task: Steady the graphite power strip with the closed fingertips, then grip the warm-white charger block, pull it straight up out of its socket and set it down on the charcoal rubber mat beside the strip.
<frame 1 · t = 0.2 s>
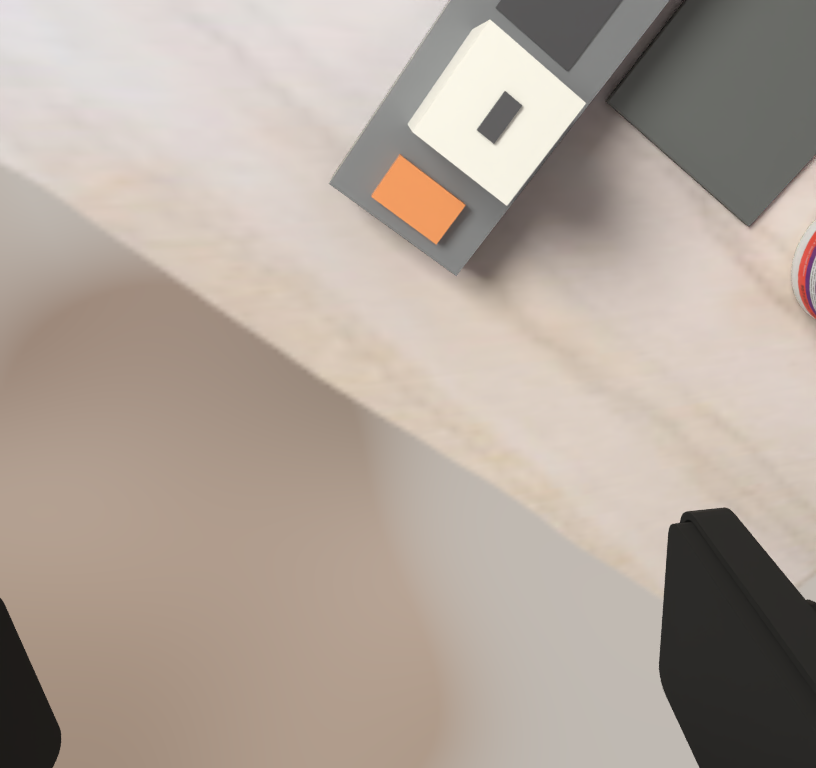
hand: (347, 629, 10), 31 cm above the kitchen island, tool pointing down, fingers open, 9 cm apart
power strip: (533, 22, 34), on the kitchen island
charger: (480, 112, 32), point 3 cm above the kitchen island, touching power strip
mat: (753, 76, 35), on the kitchen island
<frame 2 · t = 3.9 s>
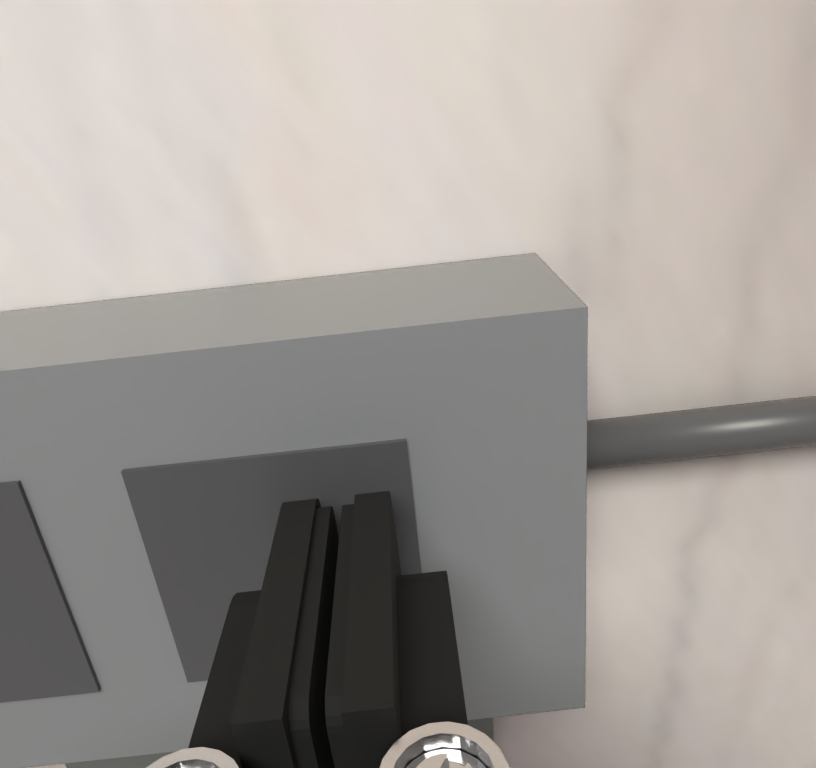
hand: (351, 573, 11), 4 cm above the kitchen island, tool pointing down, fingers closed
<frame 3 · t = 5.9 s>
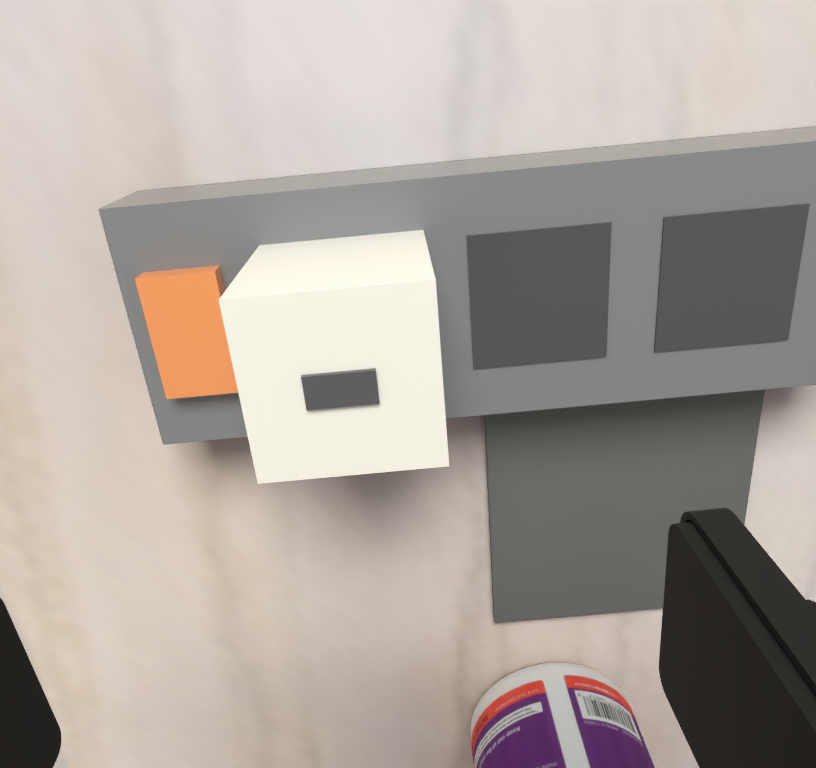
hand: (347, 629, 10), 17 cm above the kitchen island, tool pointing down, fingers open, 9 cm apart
power strip: (491, 272, 25), on the kitchen island
charger: (351, 315, 21), point 3 cm above the kitchen island, touching power strip
mat: (615, 508, 29), on the kitchen island
pill bottle: (546, 706, 34), on the kitchen island
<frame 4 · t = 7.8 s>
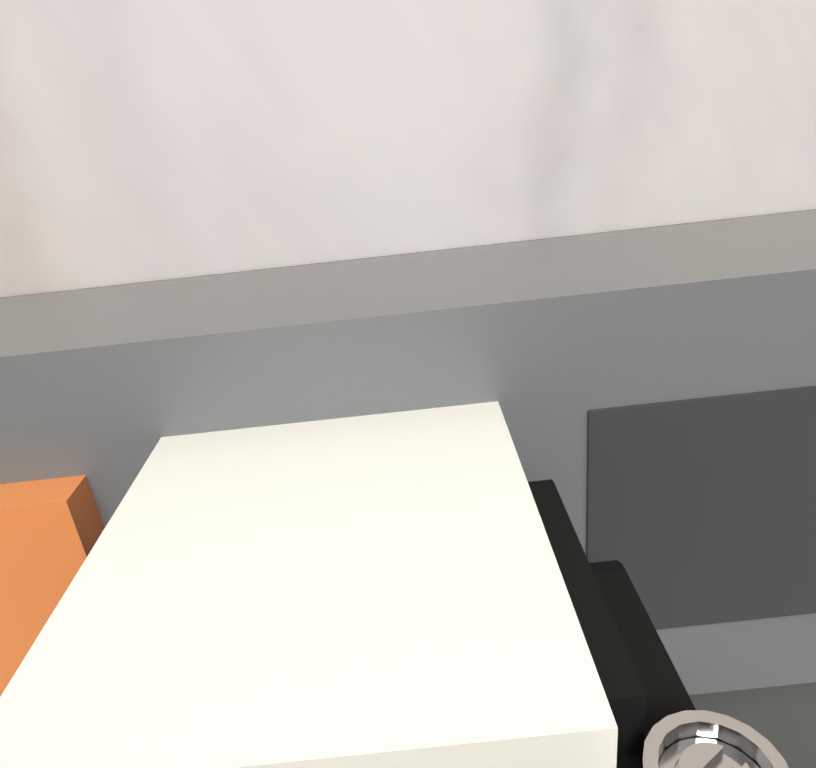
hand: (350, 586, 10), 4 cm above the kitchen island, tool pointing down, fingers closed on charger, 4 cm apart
power strip: (596, 423, 14), on the kitchen island
charger: (352, 555, 11), point 4 cm above the kitchen island, touching gripper, power strip
mat: (771, 756, 19), on the kitchen island
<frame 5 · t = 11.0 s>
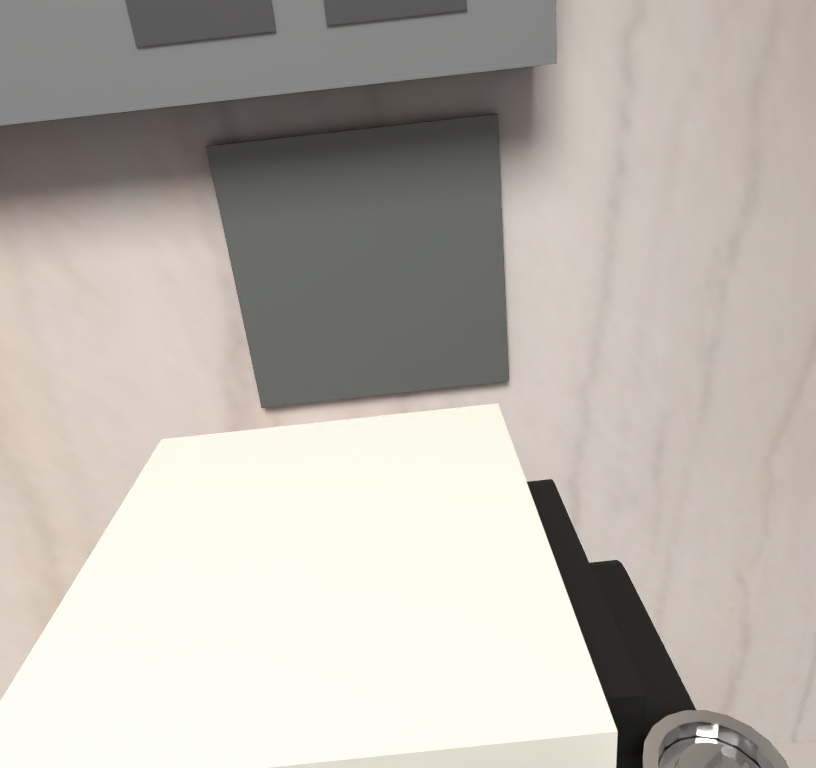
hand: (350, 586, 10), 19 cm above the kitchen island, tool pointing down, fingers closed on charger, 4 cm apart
charger: (352, 556, 11), point 19 cm above the kitchen island, touching gripper
mat: (369, 270, 28), on the kitchen island
when the fingers open (2 cm above the kitchen island, at t = 14.5 s): charger drops 1 cm, resting on mat.
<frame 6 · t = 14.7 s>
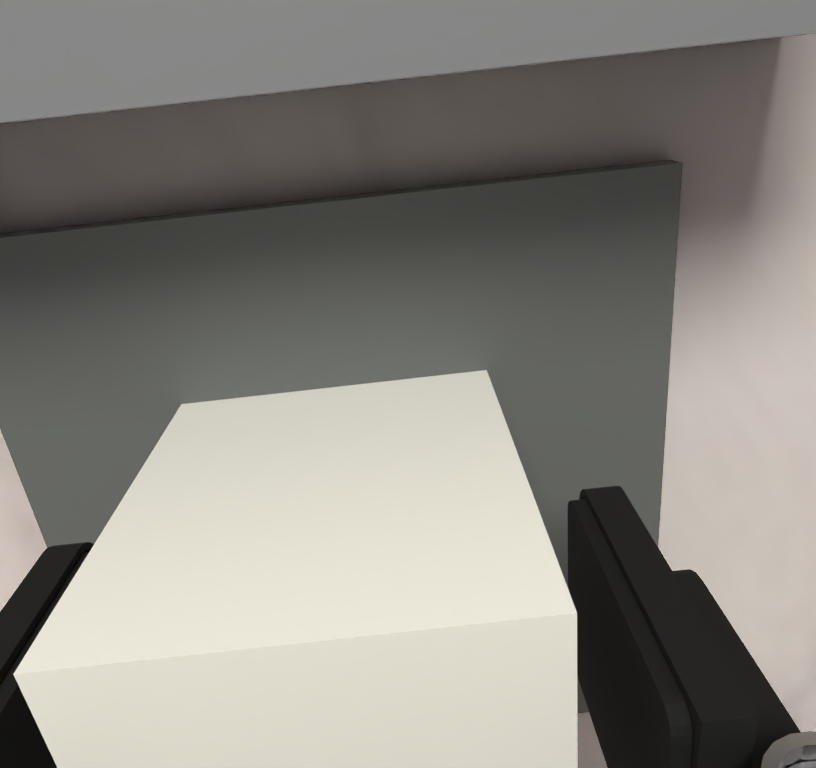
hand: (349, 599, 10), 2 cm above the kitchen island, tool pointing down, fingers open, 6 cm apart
charger: (354, 514, 12), resting on mat
mat: (354, 505, 12), on the kitchen island
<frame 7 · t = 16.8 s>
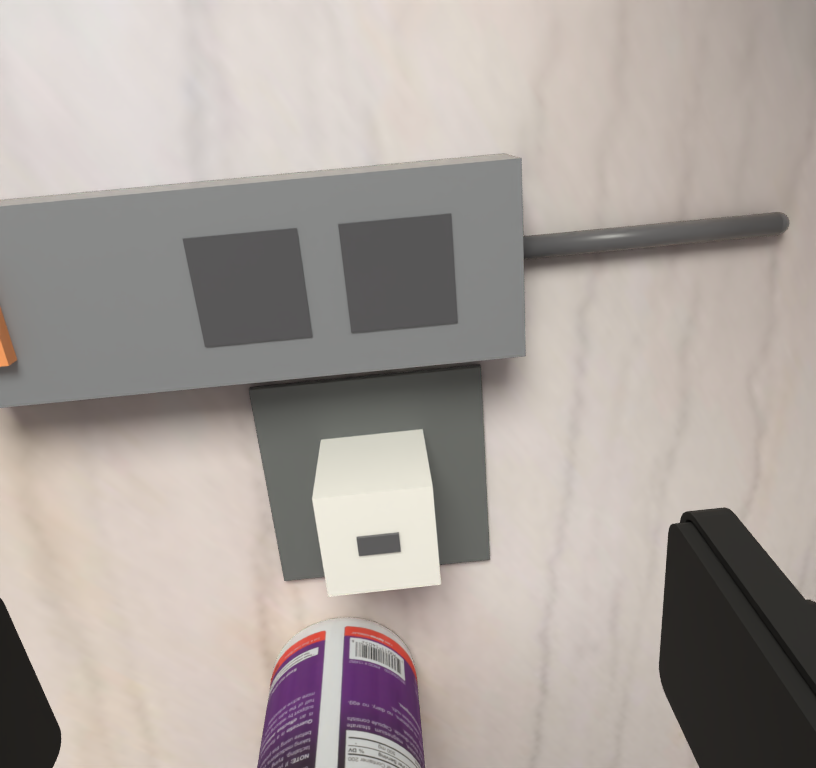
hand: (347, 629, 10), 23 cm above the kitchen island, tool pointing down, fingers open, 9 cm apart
power strip: (240, 272, 30), on the kitchen island
charger: (377, 478, 34), resting on mat
mat: (376, 476, 34), on the kitchen island
pill bottle: (346, 661, 39), on the kitchen island
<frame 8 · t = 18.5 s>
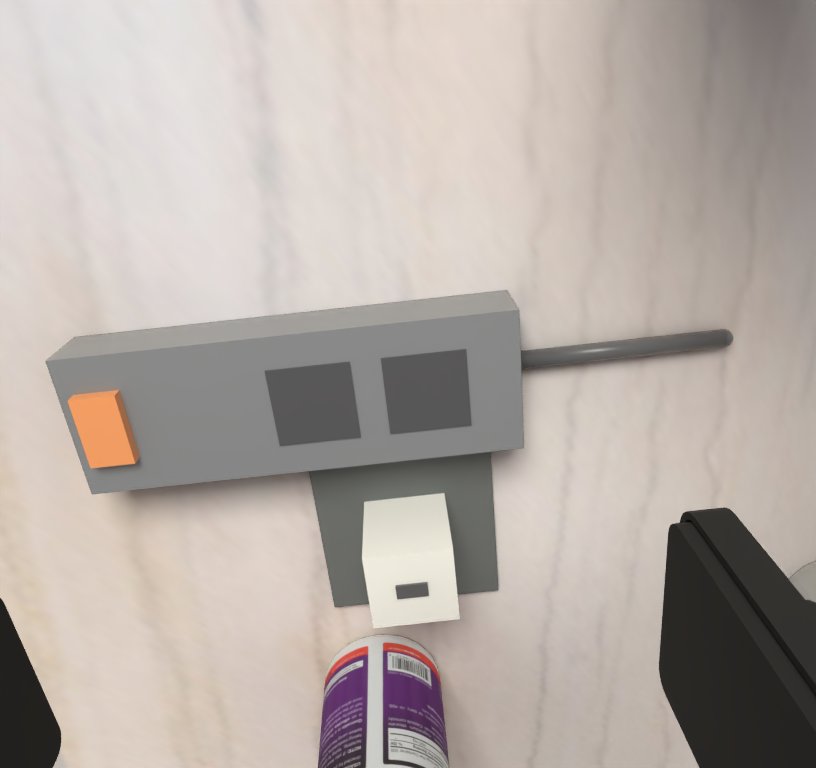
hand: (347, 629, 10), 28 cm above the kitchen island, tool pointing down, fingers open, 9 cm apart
power strip: (302, 379, 39), on the kitchen island
charger: (408, 530, 43), resting on mat
mat: (407, 527, 43), on the kitchen island
pill bottle: (383, 667, 48), on the kitchen island
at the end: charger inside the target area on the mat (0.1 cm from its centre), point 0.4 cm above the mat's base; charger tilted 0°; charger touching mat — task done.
